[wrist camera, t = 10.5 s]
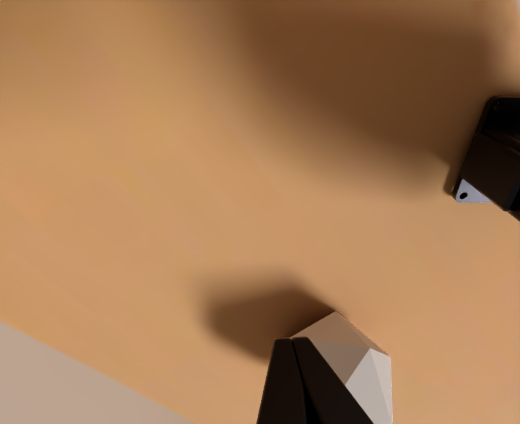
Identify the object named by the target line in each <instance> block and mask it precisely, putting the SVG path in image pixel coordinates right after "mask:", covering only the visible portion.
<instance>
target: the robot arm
mask: <svg viewBox="0 0 520 424" xmlns="http://www.w3.org/2000/svg"><path fill="white" fill-rule="evenodd" d="M498 102H499V105H498V106H497V107H496V108H495V109H494V107H495V105H496V104H497V103H498ZM463 192H464V193H463ZM462 193H463V194H462ZM461 194H462V195H461ZM460 195H461V196H460ZM452 196H453V198H454V199H455V200H456V201H457V202H460V203H480V202H493V203H494V204H495V205H497V206H498V207H499V208H500V209H502V210H503V211H507V212H508V213H509V214H511V215H512V216H513V217H514V218H516V219H517V220H518V221H520V96H502V95H497V96H493V97H492V98H490V99H489V100H488V101H487V103H486V105H485V107H484V110H483V113H482V115H481V118H480V121H479V123H478V126H477V129H476V131H475V134H474V137H473V139H472V142H471V145H470V147H469V150H468V153H467V155H466V158H465V161H464V163H463V166H462V169H461V171H460V174H459V177H458V179H457V182H456V185H455V187H454V190H453V193H452ZM256 424H374V423H373V422H372V420H371V419H370V418H369V416H368V415H367V414H366V412H365V411H364V410H363V408H362V407H361V406H360V405H359V403H358V402H357V401H356V399H355V398H354V397H353V395H352V394H351V393H350V391H349V390H348V389H347V387H346V386H345V385H344V383H343V382H342V381H341V380H340V378H339V377H338V376H337V374H336V373H335V372H334V370H333V369H332V368H331V366H330V365H329V364H328V362H327V361H326V360H325V358H324V357H323V356H322V355H321V353H320V352H319V351H318V349H317V348H316V347H315V345H314V344H313V343H312V341H311V340H310V339H309V338H308V337H306V336H302V337H292V338H289V337H281V338H275V339H274V343H273V348H272V352H271V357H270V362H269V366H268V371H267V376H266V381H265V385H264V390H263V395H262V400H261V404H260V409H259V414H258V419H257V423H256Z"/></svg>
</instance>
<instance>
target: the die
mask: <svg viewBox="0 0 520 424" xmlns="http://www.w3.org/2000/svg"><path fill="white" fill-rule="evenodd" d="M302 336H306V337H308V338H309V339H310V340H311V341H312V343H313V344H314V345H315V347H316V348H317V349H318V351H319V352H320V353H321V355H322V356H323V357H324V358H325V360H326V361H327V362H328V364H329V365H330V366H331V368H332V369H333V370H334V372H335V373H336V374H337V376H338V377H339V378H340V380H341V381H342V382H343V383H344V385H345V386H346V387H347V389H348V390H349V391H350V393H351V394H352V395H353V397H354V398H355V399H356V401H357V402H358V403H359V405H360V406H361V407H362V408H363V410H364V411H365V412H366V414H367V415H368V416H369V418H370V419H371V420H372V422H373V423H374V424H393V413H392V380H391V357H390V356H389V355H388V354H387V353H386V352H384V351H383V350H382V349H381V348H380V347H378V346H377V345H376V344H375V343H374V342H372V341H371V340H370V339H369V338H368V337H367V336H365V335H364V334H363V333H362V332H361V331H359V330H358V329H357V328H356V327H355V326H353V325H352V324H351V323H350V322H349V321H348V320H346V319H345V318H344V317H343V316H342V315H340V314H339V313H338V312H337V311H335V312H333V313H331V314H330V315H328V316H326V317H324V318H323V319H321V320H319V321H317V322H316V323H314V324H312V325H310V326H309V327H307V328H305V329H303V330H302V331H300V332H298V333H297V334H295V335H293V336H291V337H290V338H292V337H302Z"/></svg>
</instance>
